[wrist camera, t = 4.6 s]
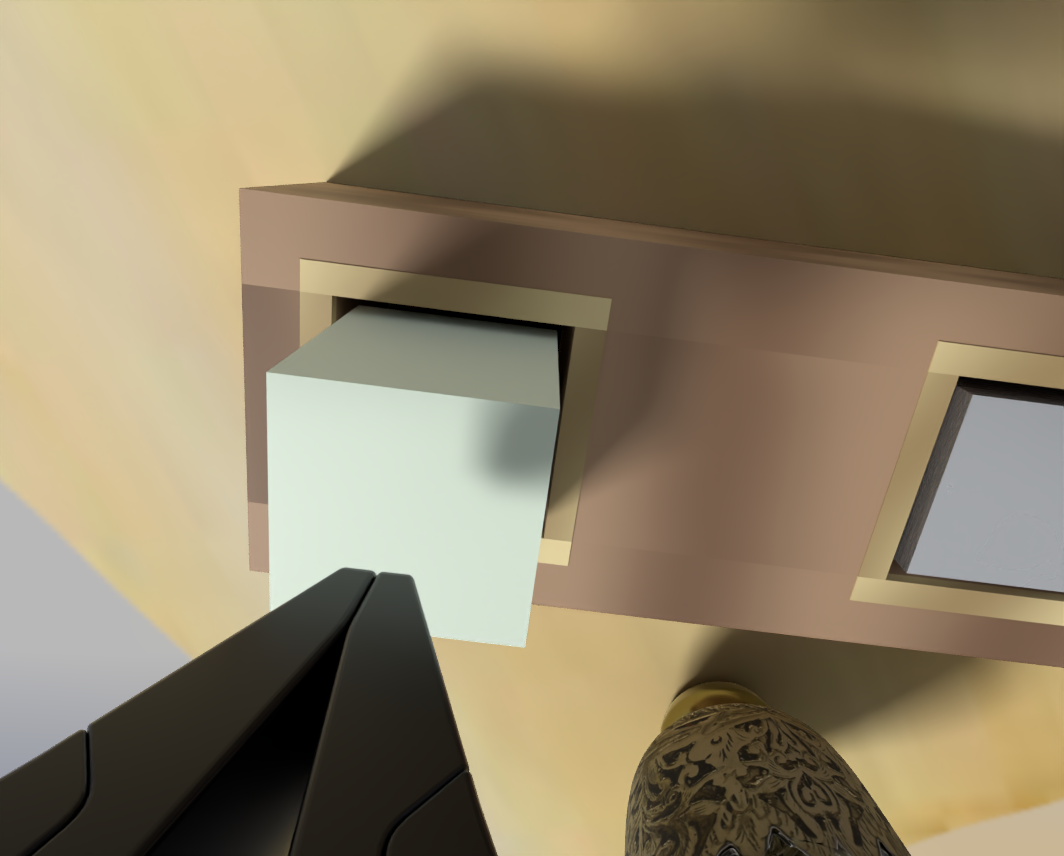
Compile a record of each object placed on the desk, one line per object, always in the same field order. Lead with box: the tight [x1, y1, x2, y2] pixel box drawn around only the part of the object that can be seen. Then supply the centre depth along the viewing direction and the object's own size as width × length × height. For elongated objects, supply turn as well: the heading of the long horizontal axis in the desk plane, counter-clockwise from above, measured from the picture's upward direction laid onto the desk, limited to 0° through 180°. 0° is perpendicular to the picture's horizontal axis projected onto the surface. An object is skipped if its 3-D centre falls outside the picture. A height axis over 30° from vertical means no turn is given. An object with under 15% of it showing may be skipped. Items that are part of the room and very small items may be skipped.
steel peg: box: [894, 376, 1064, 592], centre depth 16 cm, size 4×4×5 cm
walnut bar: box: [239, 182, 1064, 668], centre depth 16 cm, size 20×8×5 cm, turn 83°
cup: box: [625, 681, 911, 856], centre depth 19 cm, size 8×7×8 cm
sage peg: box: [266, 305, 560, 648], centre depth 12 cm, size 4×4×5 cm
